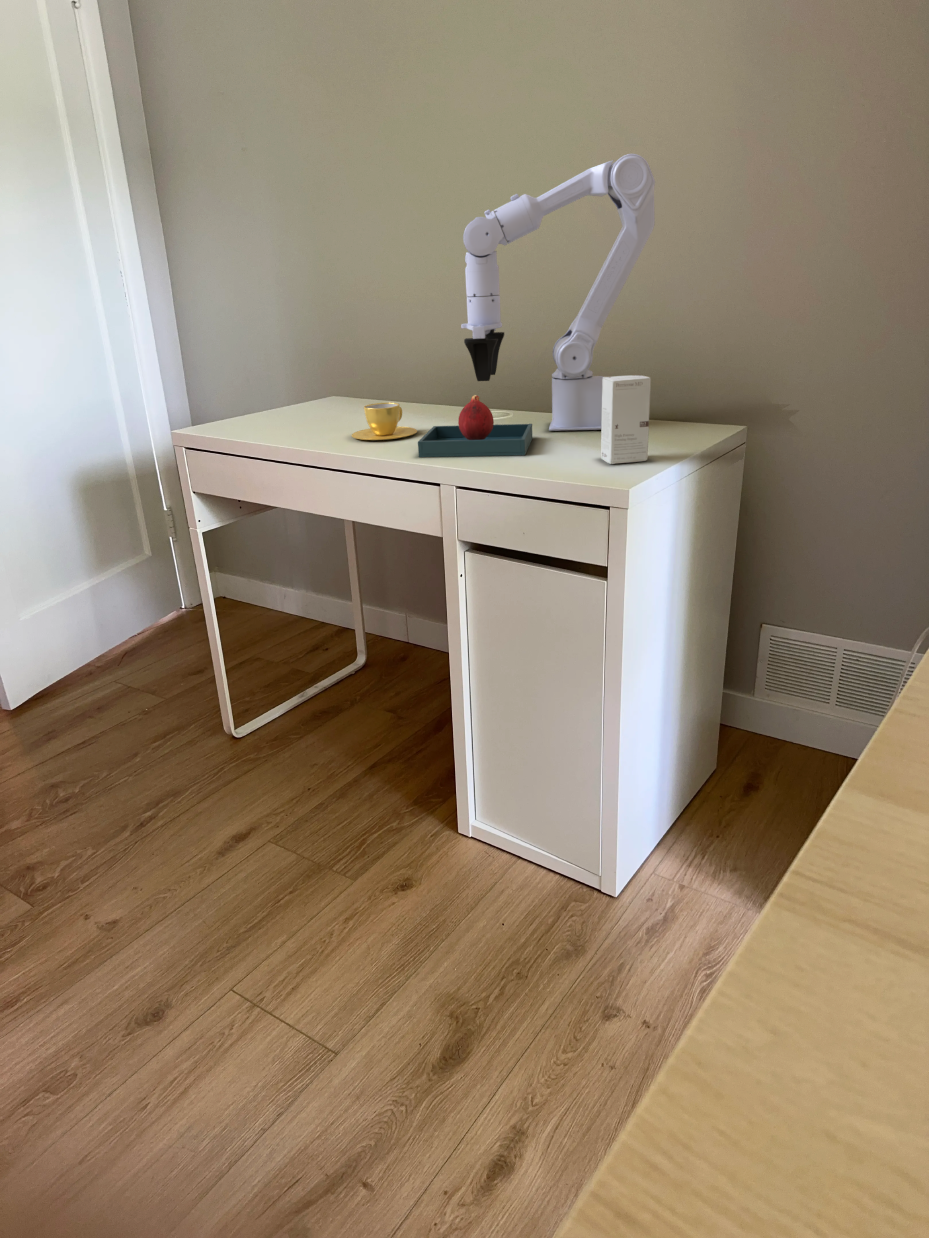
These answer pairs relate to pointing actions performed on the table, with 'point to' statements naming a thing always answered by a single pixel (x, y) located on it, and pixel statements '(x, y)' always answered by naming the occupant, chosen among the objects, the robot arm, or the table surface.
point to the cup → (383, 423)
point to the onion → (475, 420)
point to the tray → (476, 442)
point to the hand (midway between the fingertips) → (486, 377)
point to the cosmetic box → (625, 418)
